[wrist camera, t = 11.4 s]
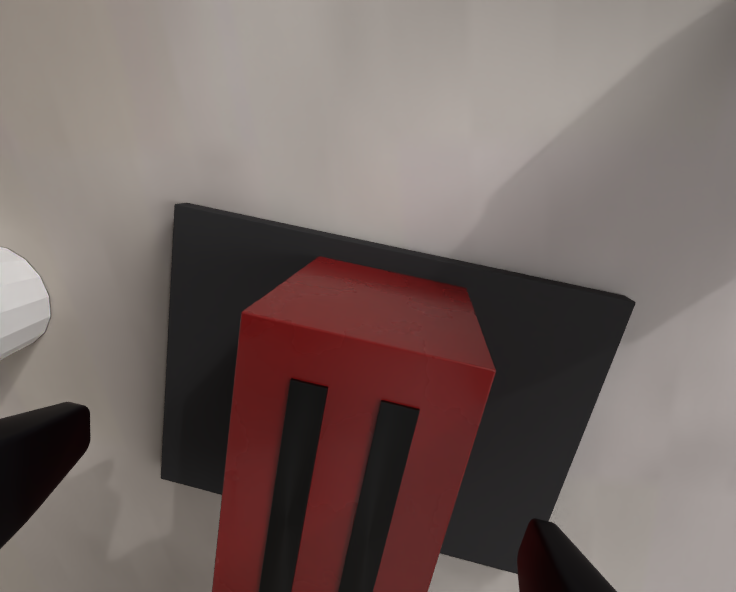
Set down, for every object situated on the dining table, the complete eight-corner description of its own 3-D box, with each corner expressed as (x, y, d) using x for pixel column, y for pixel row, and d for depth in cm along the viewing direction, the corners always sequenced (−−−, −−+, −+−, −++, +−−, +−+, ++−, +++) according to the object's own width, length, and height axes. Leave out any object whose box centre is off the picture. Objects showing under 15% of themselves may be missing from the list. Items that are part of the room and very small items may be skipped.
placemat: (625, 295, 18) (636, 302, 17) (522, 559, 22) (526, 576, 21) (186, 202, 19) (174, 204, 18) (171, 466, 24) (160, 478, 23)
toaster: (402, 526, 21) (388, 722, 14) (281, 494, 22) (202, 665, 14) (466, 287, 18) (497, 372, 10) (318, 255, 18) (238, 312, 10)
